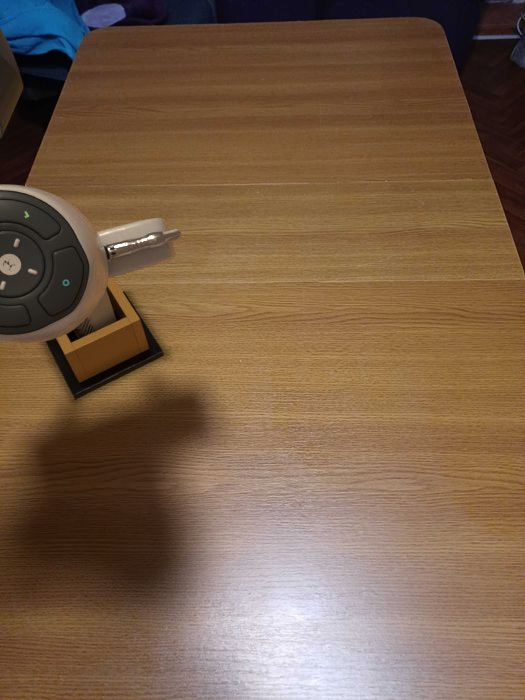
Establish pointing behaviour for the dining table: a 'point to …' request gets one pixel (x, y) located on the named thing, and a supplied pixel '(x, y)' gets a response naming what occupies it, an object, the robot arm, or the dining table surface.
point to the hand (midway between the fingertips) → (62, 270)
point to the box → (97, 318)
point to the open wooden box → (106, 347)
